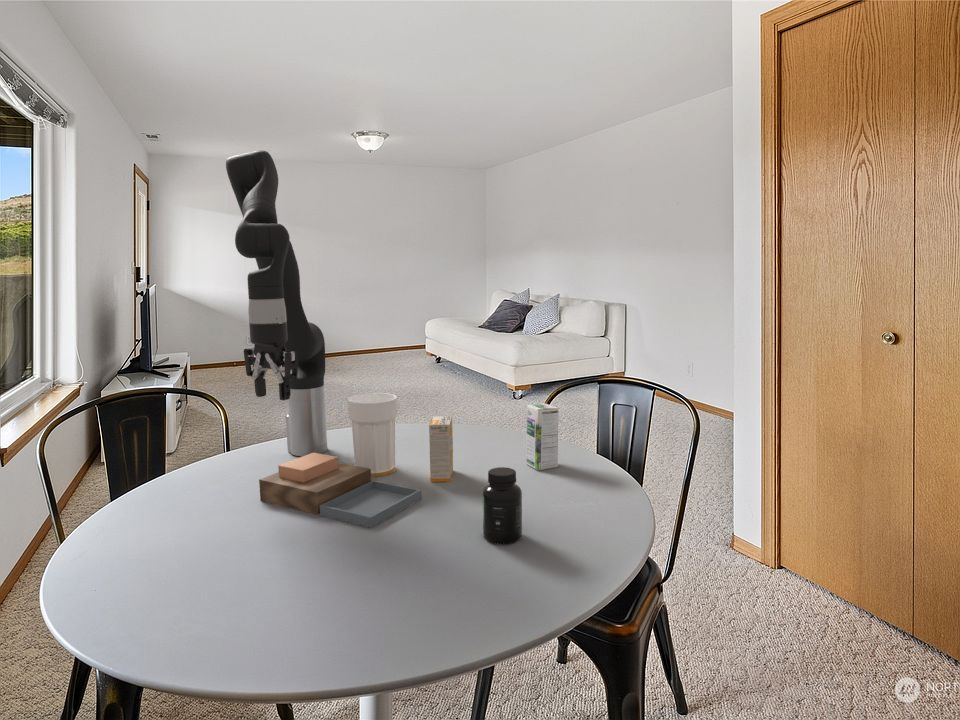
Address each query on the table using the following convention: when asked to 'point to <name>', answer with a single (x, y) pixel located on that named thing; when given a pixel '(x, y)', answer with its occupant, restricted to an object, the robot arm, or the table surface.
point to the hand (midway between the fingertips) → (273, 397)
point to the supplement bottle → (502, 507)
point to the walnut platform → (313, 488)
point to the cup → (374, 431)
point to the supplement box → (441, 448)
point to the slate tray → (370, 503)
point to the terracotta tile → (308, 467)
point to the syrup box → (542, 436)
